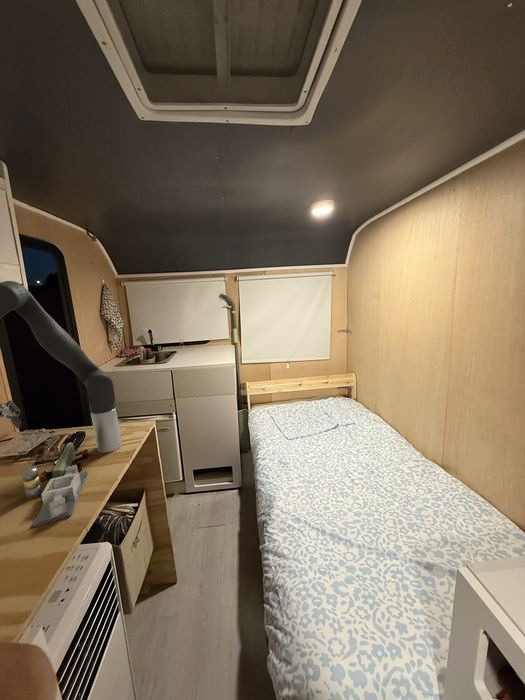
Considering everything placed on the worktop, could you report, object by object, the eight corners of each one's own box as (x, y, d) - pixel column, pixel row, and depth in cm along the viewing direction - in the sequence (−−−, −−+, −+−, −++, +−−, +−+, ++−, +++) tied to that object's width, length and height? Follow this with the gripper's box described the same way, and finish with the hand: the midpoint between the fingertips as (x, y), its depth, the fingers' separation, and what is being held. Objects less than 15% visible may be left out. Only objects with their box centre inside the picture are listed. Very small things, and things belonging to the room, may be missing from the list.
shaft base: (58, 480, 98) (55, 467, 97) (87, 473, 101) (85, 461, 100) (33, 527, 78) (29, 511, 77) (70, 516, 81) (67, 501, 80)
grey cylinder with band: (33, 490, 94) (28, 466, 92) (45, 489, 94) (40, 465, 92) (23, 499, 90) (17, 473, 88) (36, 498, 90) (30, 473, 88)
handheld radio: (52, 489, 94) (70, 452, 117) (64, 486, 96) (79, 451, 118) (49, 471, 93) (68, 438, 116) (61, 469, 94) (77, 436, 117)
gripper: (-50, 396, 86) (-20, 435, 85) (4, 383, 99) (32, 416, 98) (-56, 411, 89) (-26, 449, 87) (-2, 396, 102) (25, 429, 100)
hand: (4, 432), depth 92 cm, fingers open, 8 cm apart
